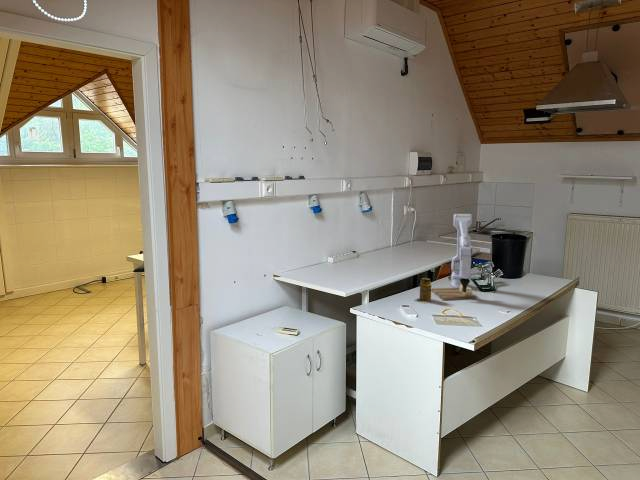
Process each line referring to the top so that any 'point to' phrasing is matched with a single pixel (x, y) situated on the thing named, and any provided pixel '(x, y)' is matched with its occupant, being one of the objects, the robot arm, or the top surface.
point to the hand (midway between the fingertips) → (464, 291)
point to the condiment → (425, 290)
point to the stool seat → (451, 293)
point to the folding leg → (468, 290)
